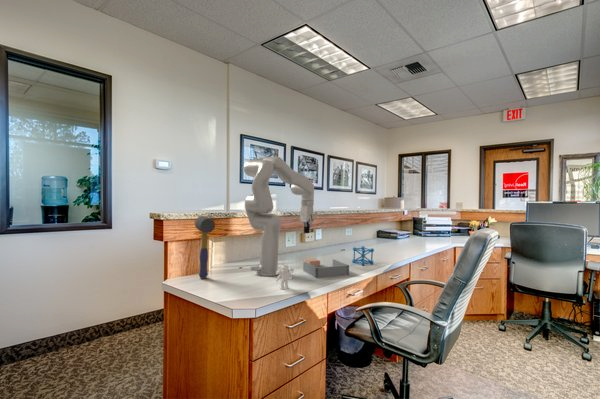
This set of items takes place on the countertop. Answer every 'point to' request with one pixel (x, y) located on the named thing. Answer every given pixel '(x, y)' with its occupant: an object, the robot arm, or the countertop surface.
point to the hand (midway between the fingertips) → (306, 232)
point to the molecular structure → (363, 255)
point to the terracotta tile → (313, 262)
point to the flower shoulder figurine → (284, 275)
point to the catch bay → (327, 269)
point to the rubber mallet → (204, 242)
